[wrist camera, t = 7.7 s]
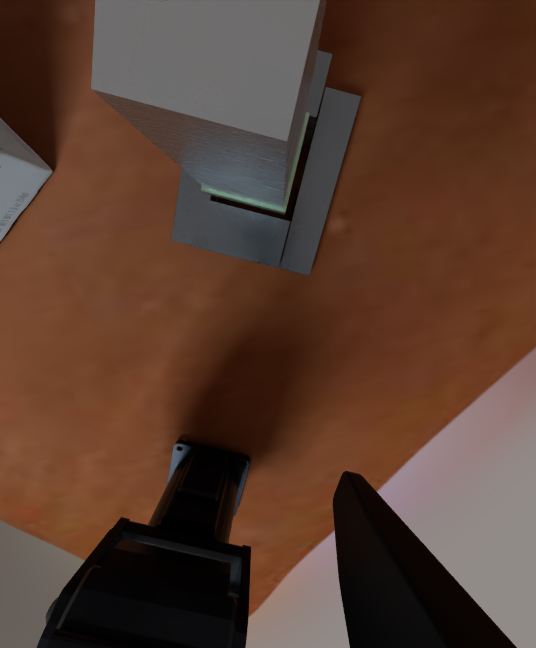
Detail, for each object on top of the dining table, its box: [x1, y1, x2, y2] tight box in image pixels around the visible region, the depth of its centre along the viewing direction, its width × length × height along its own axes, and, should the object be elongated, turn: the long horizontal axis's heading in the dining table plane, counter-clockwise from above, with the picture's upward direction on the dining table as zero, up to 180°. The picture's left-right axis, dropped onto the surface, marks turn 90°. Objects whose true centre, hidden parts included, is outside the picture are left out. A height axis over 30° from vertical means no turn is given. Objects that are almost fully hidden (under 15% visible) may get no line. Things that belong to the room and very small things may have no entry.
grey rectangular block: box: [91, 0, 327, 214], centre depth 9 cm, size 4×4×9 cm
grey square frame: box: [172, 50, 361, 275], centre depth 14 cm, size 10×9×4 cm
